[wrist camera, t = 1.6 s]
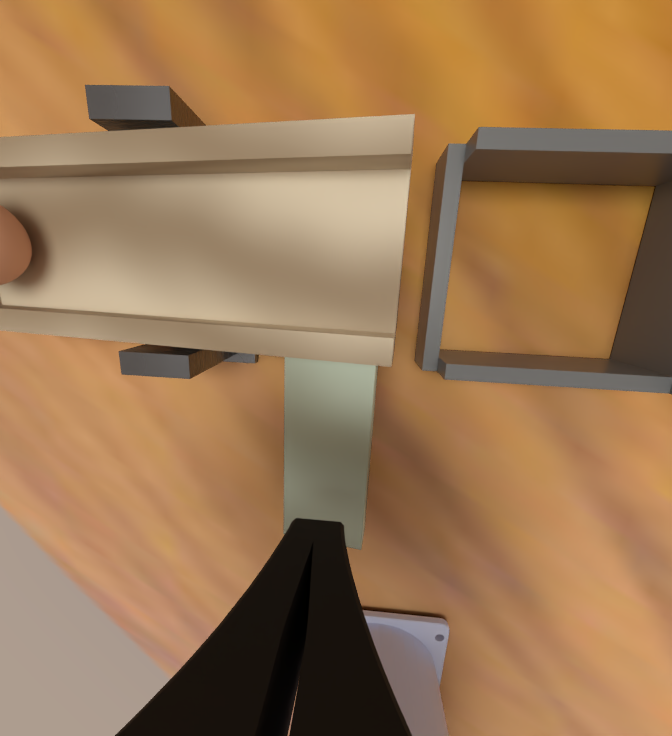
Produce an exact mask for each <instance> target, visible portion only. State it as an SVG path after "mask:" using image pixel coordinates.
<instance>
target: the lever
mask: <svg viewBox="0 0 672 736" xmlns="http://www.w3.org/2000/svg"><path fill="white" fill-rule="evenodd" d="M414 120H415V114H409V115H391V116H373V117H355V118H337V119H319V120H301V121H283V122H265V123H247V124H229V125H211V126H193V127H175V128H157V129H139V130H121V131H103V132H85V133H67V134H49V135H31V136H13V137H0V205H1V206H3V207H4V208H6V209H7V210H8V211H9V212H10V213H12V214H13V215H14V216H15V217H16V218H17V219H18V221H19V222H20V223H21V224H22V225H23V227H24V228H25V230H26V232H27V234H28V236H29V239H30V241H31V246H32V256H31V261H30V264H29V266H28V267H27V269H26V270H25V271H24V273H23V274H21V275H20V276H19V277H18V278H16V279H15V280H13V281H11V282H9V283H6V284H3V285H0V330H1V331H12V332H22V333H33V334H44V335H55V336H65V337H76V338H87V339H97V340H108V341H119V342H129V343H140V344H151V345H161V346H172V347H183V348H193V349H204V350H215V351H225V352H236V353H247V354H258V355H268V356H279V357H285V396H284V534H285V533H286V531H287V530H288V528H289V526H290V524H291V522H292V521H293V520H294V519H296V518H303V519H314V520H326V521H337V522H341V523H342V524H343V525H344V533H345V542H346V547H350V548H355V549H359V550H361V548H362V542H363V536H364V530H365V518H366V505H367V493H368V481H369V468H370V456H371V444H372V432H373V419H374V407H375V395H376V382H377V370H378V366H386V367H392V361H393V355H394V347H395V336H396V325H397V314H398V304H399V293H400V282H401V272H402V261H403V250H404V239H405V229H406V218H407V207H408V197H409V186H410V175H411V164H412V154H413V138H414Z"/></svg>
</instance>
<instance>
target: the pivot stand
mask: <svg viewBox="0 0 672 736" xmlns="http://www.w3.org/2000/svg"><path fill="white" fill-rule="evenodd" d="M85 89H86V96H87V104H88V112H89V119H91V120H92V121H94V122H95V123H97V124H99V125H100V126H102V127H103V128H105V129H106V130H108V131H121V130H139V129H157V128H175V127H193V126H206V125H205V124H204V123H203V122H202V121H201V119H200V118H199V117H198V116H197V115H196V114H195V113H194V112H193V111H192V110H191V109H190V108H189V107H188V106H187V105H186V104H185V102H184V101H183V100H182V99H181V98H180V97H179V96H178V95H177V94H176V93H175V92H174V91H173V90H172V89H171V88H170V86H123V85H85ZM119 357H120V365H121V373H122V374H123V375H138V376H154V377H169V378H184V379H191V378H193V377H194V376H196V375H198V374H200V373H202V372H204V371H205V370H207V369H209V368H211V367H213V366H215V365H217V364H218V363H220V362H222V361H227V362H243V363H256V362H257V354H247V353H236V352H225V351H215V350H204V349H193V348H183V347H172V346H161V345H151V344H145V345H141V346H137V347H133V348H130V349H126V350H122V351H119Z"/></svg>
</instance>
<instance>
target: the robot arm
mask: <svg viewBox="0 0 672 736" xmlns="http://www.w3.org/2000/svg"><path fill="white" fill-rule="evenodd" d="M448 637H449V626H448V623H447V621H446V620H444V619H442V618H435V617H426V616H416V615H406V614H397V613H387V612H378V611H368V610H362V607H361V604H360V600H359V597H358V593H357V590H356V586H355V583H354V579H353V576H352V572H351V568H350V563H349V559H348V554H347V549H346V542H345V533H344V525H343V524H342V523H341V522H337V521H326V520H314V519H303V518H296V519H294V520H293V521H292V522H291V524H290V526H289V528H288V530H287V531H286V533H285V535H284V537H283V538H282V540H281V541H280V543H279V545H278V546H277V548H276V549H275V551H274V552H273V554H272V555H271V557H270V558H269V560H268V561H267V563H266V564H265V565H264V567H263V568H262V570H261V571H260V572H259V574H258V575H257V577H256V578H255V580H254V581H253V582H252V584H251V585H250V586H249V588H248V589H247V590H246V592H245V593H244V594H243V596H242V597H241V598H240V599H239V601H238V602H237V603H236V604H235V606H234V607H233V608H232V609H231V611H230V612H229V613H228V615H227V616H226V617H225V618H224V620H223V621H222V622H221V623H220V624H219V626H218V627H217V628H216V629H215V630H214V632H213V633H212V634H211V635H210V636H209V637H208V639H207V640H206V641H205V642H204V643H203V644H202V646H201V647H200V648H199V649H198V650H197V651H196V652H195V653H194V654H193V656H192V657H191V658H190V659H189V660H188V661H187V662H186V663H185V664H184V666H183V667H182V668H181V669H180V670H179V671H178V672H177V673H176V674H175V675H174V676H173V677H172V678H171V679H170V680H169V681H168V683H167V684H166V685H165V686H164V687H163V688H162V689H161V690H160V691H159V692H158V693H157V694H156V695H155V696H154V697H153V698H152V699H151V700H150V701H149V702H148V703H147V704H146V705H145V707H143V709H141V710H140V711H139V713H137V714H136V715H135V717H134V718H132V719H131V720H130V721H129V722H128V723H127V724H126V725H125V727H123V728H122V729H121V730H120V731H119V732H118V733H117V734H116V735H115V736H287V734H288V730H289V725H290V720H291V715H292V711H293V706H294V701H295V696H296V692H297V696H296V701H295V707H294V713H293V718H292V724H291V730H290V735H289V736H449V733H448V728H447V723H446V718H445V713H444V708H443V703H442V699H441V694H440V689H439V688H440V682H441V676H442V671H443V665H444V659H445V654H446V648H447V642H448ZM299 677H300V678H299ZM298 682H299V684H298ZM297 687H298V690H297Z"/></svg>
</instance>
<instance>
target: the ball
mask: <svg viewBox="0 0 672 736" xmlns="http://www.w3.org/2000/svg"><path fill="white" fill-rule="evenodd" d="M31 256H32V246H31V241H30V239H29V236H28V234H27V232H26V230H25V228H24V227H23V225H22V224H21V223H20V222H19V221H18V219H17V218H16V217H15V216H14V215H13V214H12V213H10V212H9V211H8V210H7V209H6V208H4V207H3V206H1V205H0V285H3V284H6V283H9V282H11V281H13V280H15V279H16V278H18V277H19V276H20V275H21V274H23V273H24V271H25V270H26V269H27V267H28V266H29V264H30V261H31Z"/></svg>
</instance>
